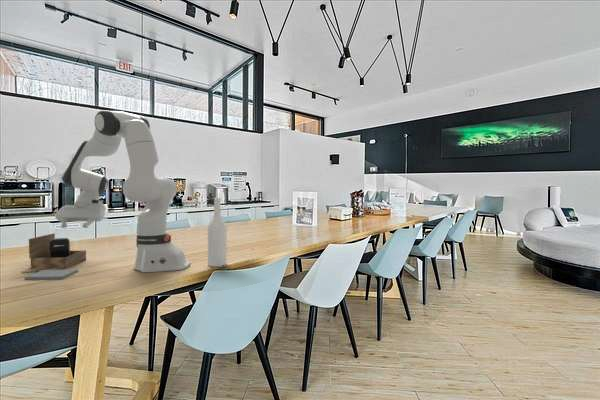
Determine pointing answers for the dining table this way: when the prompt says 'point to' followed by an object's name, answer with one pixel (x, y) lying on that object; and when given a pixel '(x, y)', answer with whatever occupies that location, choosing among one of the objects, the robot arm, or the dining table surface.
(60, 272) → the mat
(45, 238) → the wooden box
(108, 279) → the dining table surface
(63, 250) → the battery charger
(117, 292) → the dining table surface
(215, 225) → the bottle
